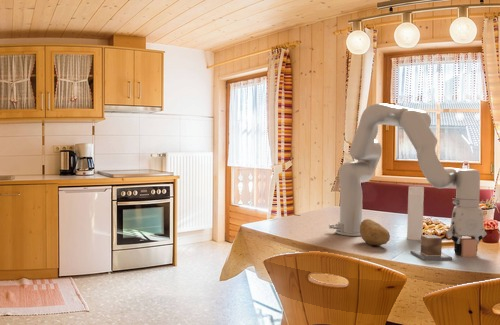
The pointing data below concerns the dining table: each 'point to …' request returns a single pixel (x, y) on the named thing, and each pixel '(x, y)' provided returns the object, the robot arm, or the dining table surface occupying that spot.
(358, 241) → the dining table surface
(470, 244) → the terracotta block
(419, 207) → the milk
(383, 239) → the potato
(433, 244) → the walnut block
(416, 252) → the slate board
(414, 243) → the dining table surface
